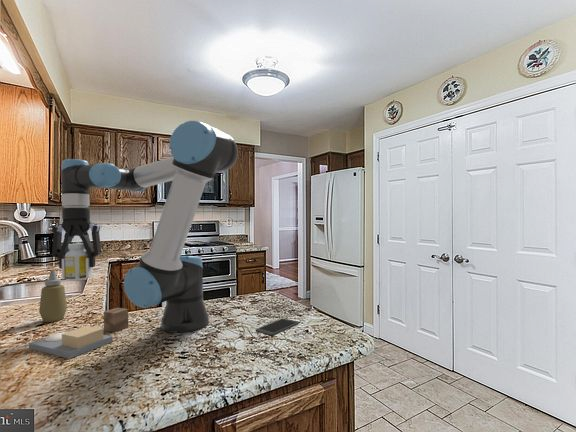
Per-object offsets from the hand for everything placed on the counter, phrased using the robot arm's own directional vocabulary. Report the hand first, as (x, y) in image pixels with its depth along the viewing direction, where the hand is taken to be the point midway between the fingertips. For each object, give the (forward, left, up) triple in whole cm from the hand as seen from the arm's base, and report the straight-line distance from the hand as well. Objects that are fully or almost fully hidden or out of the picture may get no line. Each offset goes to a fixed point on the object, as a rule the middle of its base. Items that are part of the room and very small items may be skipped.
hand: (77, 277), depth 102 cm
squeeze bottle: (+19, -3, -17) cm, 25 cm away
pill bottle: (0, 0, -1) cm, 1 cm away
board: (-11, +9, -17) cm, 22 cm away
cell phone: (-60, -25, -17) cm, 68 cm away
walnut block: (-11, -5, -17) cm, 21 cm away
